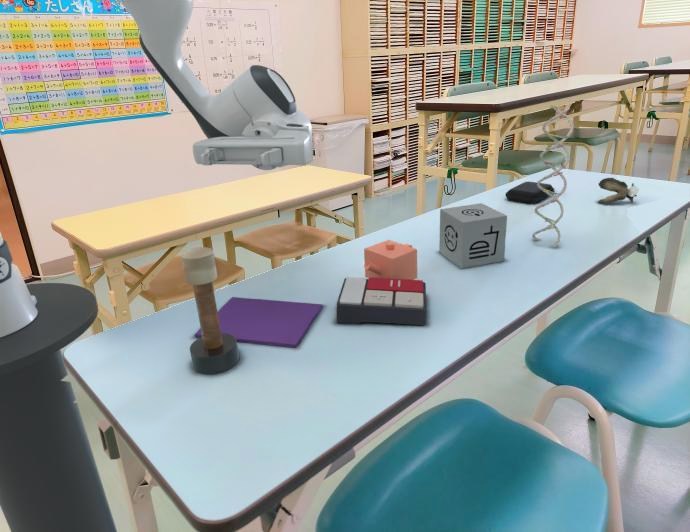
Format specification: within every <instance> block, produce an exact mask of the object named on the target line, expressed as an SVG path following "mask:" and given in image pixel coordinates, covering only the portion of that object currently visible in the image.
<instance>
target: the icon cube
mask: <svg viewBox="0 0 690 532" xmlns="http://www.w3.org/2000/svg"><path fill="white" fill-rule="evenodd" d="M507 224H508V215H506V214H504V213H502V212H501V211H499V210H496V209H495V208H492V207H490V206H489V205H486V204H484V203H483V202H480V203H472V204H466V205H459V206H452V207H446V208H440V209H439V243H438V246H439V251H438V253H440V254H441V255H442V256H444V257H445V258H446V259H448V260H449V261H451V262H452V263H453V264H454V265H456V266H457V267H459V268H460V269H461V270H462V269H467V268H472V267H478V266H483V265H484V266H485V265H488V264H495V263H500V262H504V261H505V252H506V251H505V250H506V237H507Z"/></svg>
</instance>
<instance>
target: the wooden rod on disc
mask: <svg viewBox="0 0 690 532" xmlns="http://www.w3.org/2000/svg"><path fill="white" fill-rule="evenodd" d="M180 259H181V263H182V268H183V274H184V278H185V282H186V283H187V284H188V285H191V286H192V290H193V294H194V301H195V306H196V311H197V317H198V321H199V327H200V328H199V329H201V333H202V337H200V338H199V337H197V339H195V340H194V341H193V342H192V343H191V345H190V346H189V353H190V360H191V363H192V367H193V369H194V371H195V372H197V373H199V374H202V375H218V374H221V373H224V372H227V371H229V370H231V369H232V368H234V367H236V365H238V363H239V361H240V353H239V347H238V342H237V340H236V338H235V337H234V336H233V335H230V334H227V333H221V330H220V324H219V318H218V306H217V301H216V294H215V288H214V281H215V280H217V278H218V271H217V265H216V260H215V253H214V249H213V248H211V247H207V246H206V247H205V246H200V247H199V246H198V247H193V248H190V249H186V250H184V251H183V252H182V253H181V254H180Z"/></svg>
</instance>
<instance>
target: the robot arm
mask: <svg viewBox="0 0 690 532" xmlns="http://www.w3.org/2000/svg"><path fill="white" fill-rule="evenodd" d="M118 1H119V3H121V5H122V6H123V7H124V8H125V9H126V10H127V11H128V13H129V14H130V15H131V17H132V19H133V21H134V22H135V24H136V26H137V29H138V31H139V38H138V40H139V45H140V47H141V49H142V50H143V53H144V54H145V56H146V57H147V59H148V60H149V61H150V63H151V64H152V66H153V67H154V68H155V69H156V71H157V73H159V75H160V76H161V77H162V79H164V82H166V84H167V85H168V86H169V87H170V89H171V90H172V91H173V92H174V94H175V95H176V96H177V97H178V99H179V100H180V101H181V103H182V104H183V105H184V106H185V108H186V109H187V110H188V112H190V114H191V115H192V116H193V118H194V119H195V121H196V123H197V125H198V126H199V127H200V129H201V131H202V133H203V134H204V136H205V137H206V139H203V140H202V139H201V140H199V141H195V142H194V143H192V155H193V158H194V159H193V160H194V162H195V163H196V164H197V165H202V166H213V165H237V166H238V165H240V166H242V165H243V166H244V165H245V166H246V165H249V166H250V165H251V166H253V167H254V168H256V169H258V170H260V171H261V170H262V171H272V170H274V169H277V168H283V167H286V166H303V165H308V164H311V163H313V160H314V144H313V143H314V142H313V126H312V122H311V121H310V119H309V117H308V116H307V114H305V113H304V112H303V111H301V110H299V108H297V101H296V97H295V95H294V93H293V91H292V89H291V88H290V85H289V83H287V81H286V80H285V79H284V78H283V75H281V74H280V73H278V72H277V71H276V70H274V69H272V68H270V67H267V66H264V65H259V64H253V65H252V64H251V66H250V67H248V68H247V69H246V70H244V71H243V72H242V73H241V74H240V75H238V76H237V77H236V78H234V80H233V81H232V82H231V83H230V84H229V85H228V86H226V87H225V88H224V89H223V90H222V91H220V92H219V93H217V95H212V94H210V93H209V92H208V90H207V89H206V88H205V86H204V84H202V82H201V81H200V79H199V78H198V77H197V76H196V74H195V72H193V70H192V69H191V67H190V66H189V65H188V63H187V62H186V60H185V59H184V56H183V52H182V45H183V39H184V36H185V33H186V31H187V28H188V25H189V23H190V20H191V17H192V14H193V9H194V0H118ZM11 253H12V252H11V248H10V247H9V244H8V242H7V241H6V240H5V239H3V236H2V231H0V338H1V337H4V336H6V335H9V334H11V333H13V332H15V331H18V330H19V329H21V328H23V327H25V326H26V325H28V324H29V323H30V322H32V321H33V320H34V319H35V318H36V316H37V314H38V310H37V309H36V307H35V305H36V303H37V300H36V298H35V296H31V295H30V293H29V291H28V289H27V286H26V285H27V284H26V282H25V279H24V278H23V275H22V273H21V271H20V269H19V267H18V266H17V265H16V264H14V263H13V259H14V258H13V255H12V254H11Z"/></svg>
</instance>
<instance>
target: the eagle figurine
mask: <svg viewBox="0 0 690 532" xmlns="http://www.w3.org/2000/svg"><path fill="white" fill-rule="evenodd" d="M597 184H598V187H599V188H600V189H602V190H605V191H608V192H614V193H615V194H611V195H607V196H606V197H605V198H602V199H599V200H598V201H597V203H598V204H601V205H608V204H612V203H615V202H619V201H624V200H626V198H627V199H628V200H629V201H630V203H632V204H633V203H634V197H638V195H637V193H638V192H639V190H640V189H639V188H638V186H636V185H635V184H634V182H632V183H631V187H628V184H627V183H626V182H625V181H622V180H619V179H616V178H614V177H605V178H602V179H600V180H599V182H598V183H597Z"/></svg>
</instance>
